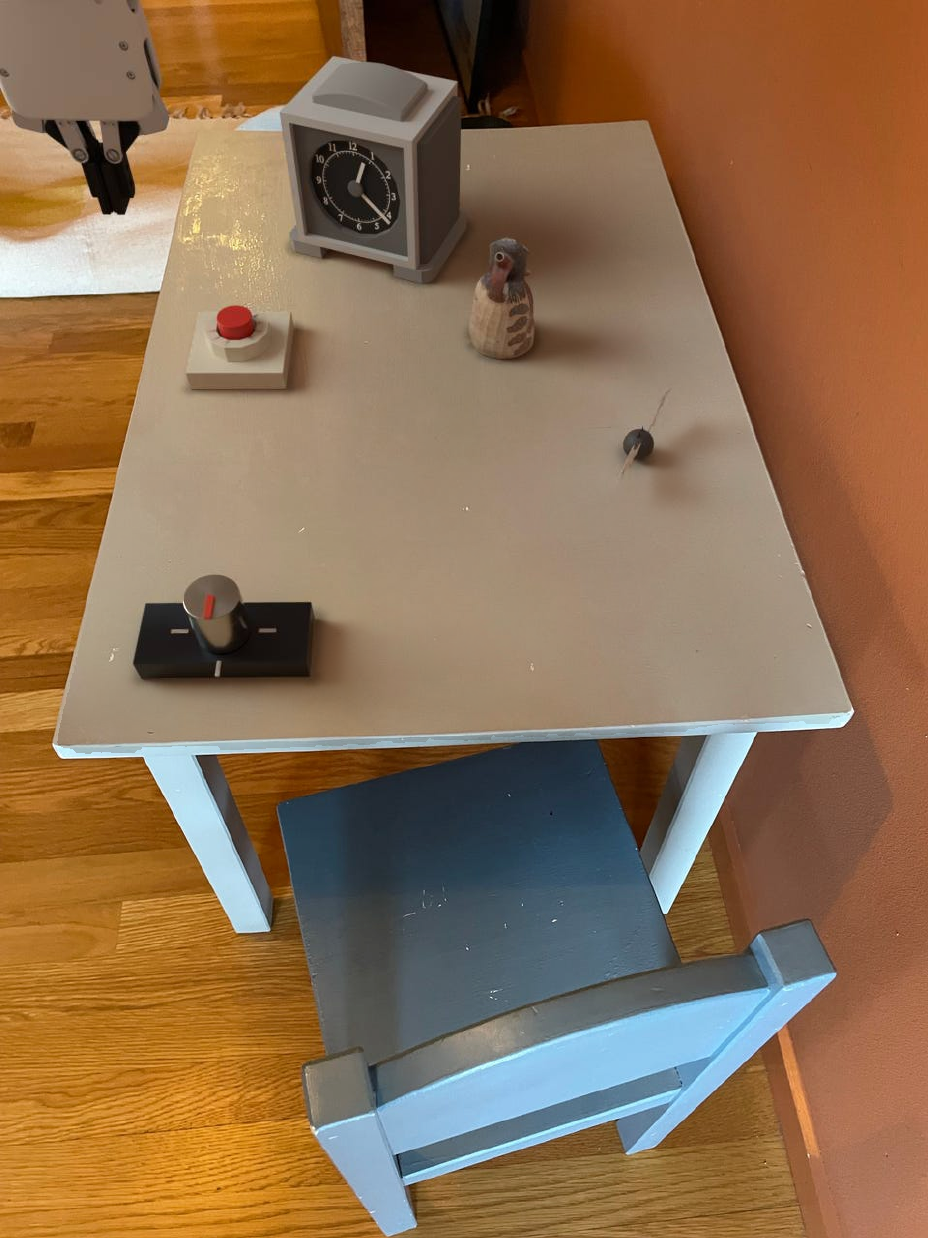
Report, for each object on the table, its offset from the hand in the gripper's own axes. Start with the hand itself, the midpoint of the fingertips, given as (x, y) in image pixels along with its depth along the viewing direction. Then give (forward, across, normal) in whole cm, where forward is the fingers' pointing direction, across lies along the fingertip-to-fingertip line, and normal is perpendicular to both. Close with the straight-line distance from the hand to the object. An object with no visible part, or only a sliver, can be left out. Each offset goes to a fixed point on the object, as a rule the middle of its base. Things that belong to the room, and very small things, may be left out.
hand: (117, 204), depth 70 cm
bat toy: (+25, -45, +2) cm, 51 cm away
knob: (+23, -7, +24) cm, 34 cm away
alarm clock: (+24, -18, -34) cm, 46 cm away
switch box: (+25, -4, -13) cm, 28 cm away
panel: (+25, -7, +24) cm, 36 cm away
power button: (+21, -4, -13) cm, 25 cm away
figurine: (+24, -32, -15) cm, 43 cm away
